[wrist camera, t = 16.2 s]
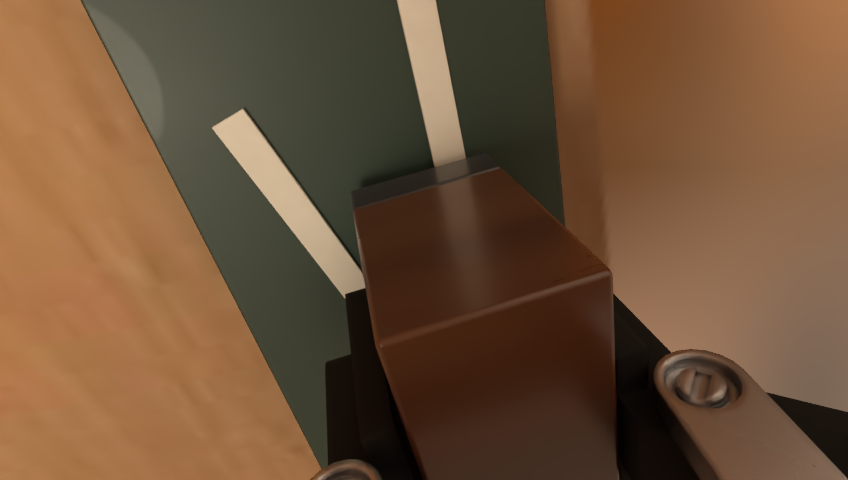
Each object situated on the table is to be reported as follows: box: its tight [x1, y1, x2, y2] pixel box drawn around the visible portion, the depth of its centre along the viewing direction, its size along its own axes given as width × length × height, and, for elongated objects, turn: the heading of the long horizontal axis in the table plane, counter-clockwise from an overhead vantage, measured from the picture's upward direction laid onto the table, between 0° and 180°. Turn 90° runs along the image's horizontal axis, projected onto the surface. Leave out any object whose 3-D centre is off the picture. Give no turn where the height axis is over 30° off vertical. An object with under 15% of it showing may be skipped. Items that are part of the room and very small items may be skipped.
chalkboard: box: [81, 0, 565, 469], centre depth 10 cm, size 22×8×1 cm, turn 13°
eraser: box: [350, 153, 619, 480], centre depth 10 cm, size 7×3×5 cm, turn 13°
